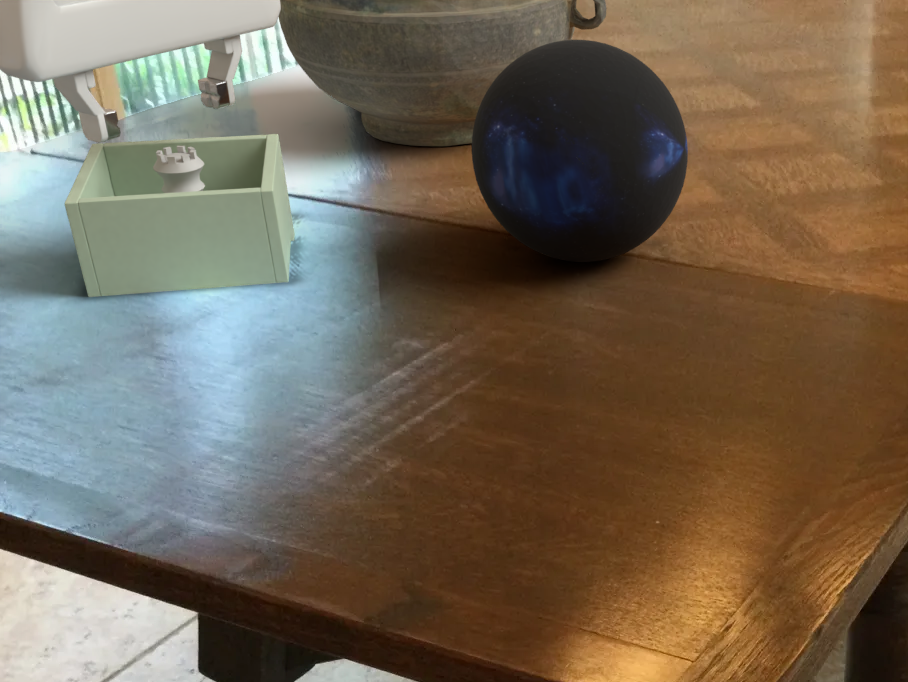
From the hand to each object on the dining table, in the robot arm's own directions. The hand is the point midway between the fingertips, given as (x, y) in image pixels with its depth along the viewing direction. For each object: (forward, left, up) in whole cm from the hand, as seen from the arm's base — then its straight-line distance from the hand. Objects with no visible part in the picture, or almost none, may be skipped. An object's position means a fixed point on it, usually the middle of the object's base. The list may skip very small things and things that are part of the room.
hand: (163, 121), depth 89 cm
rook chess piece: (0, 0, -10) cm, 10 cm away
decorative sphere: (+27, -2, -11) cm, 30 cm away
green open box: (0, 0, -11) cm, 11 cm away
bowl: (+19, +33, -11) cm, 40 cm away
